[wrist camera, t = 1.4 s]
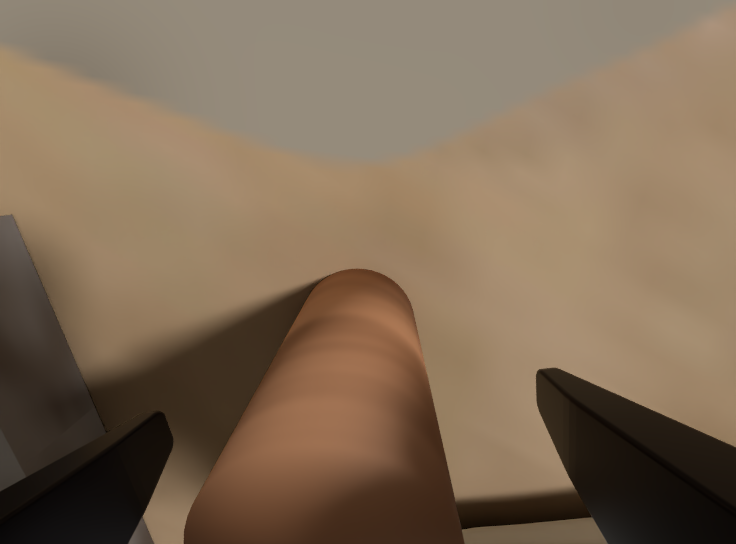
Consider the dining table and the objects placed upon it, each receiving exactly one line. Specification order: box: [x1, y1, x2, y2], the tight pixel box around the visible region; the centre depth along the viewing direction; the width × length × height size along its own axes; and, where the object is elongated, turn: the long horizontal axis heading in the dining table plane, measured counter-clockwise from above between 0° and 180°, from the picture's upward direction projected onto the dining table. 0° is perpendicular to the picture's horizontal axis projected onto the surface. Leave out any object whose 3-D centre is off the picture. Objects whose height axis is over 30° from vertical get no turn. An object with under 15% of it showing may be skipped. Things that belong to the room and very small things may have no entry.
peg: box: [184, 269, 465, 544], centre depth 9 cm, size 4×4×8 cm
